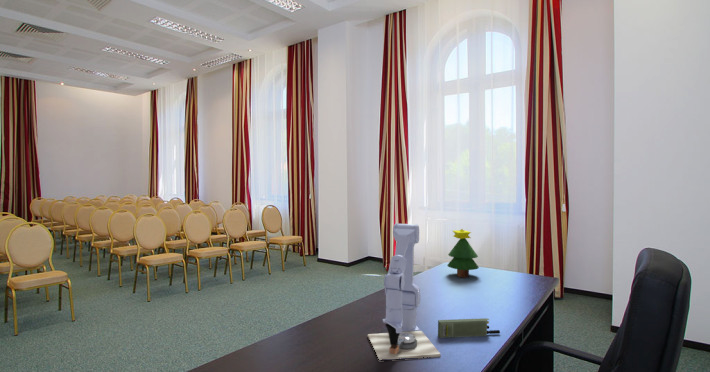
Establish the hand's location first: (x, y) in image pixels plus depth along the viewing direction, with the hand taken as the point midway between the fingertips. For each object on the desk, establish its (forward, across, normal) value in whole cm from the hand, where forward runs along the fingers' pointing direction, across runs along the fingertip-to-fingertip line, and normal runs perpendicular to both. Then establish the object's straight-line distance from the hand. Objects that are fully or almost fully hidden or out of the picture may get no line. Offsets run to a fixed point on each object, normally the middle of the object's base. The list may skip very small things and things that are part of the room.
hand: (393, 344), depth 134 cm
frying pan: (0, 0, +3) cm, 3 cm away
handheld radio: (+3, -10, +34) cm, 35 cm away
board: (+3, -5, +4) cm, 7 cm away
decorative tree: (+4, -95, +70) cm, 118 cm away
